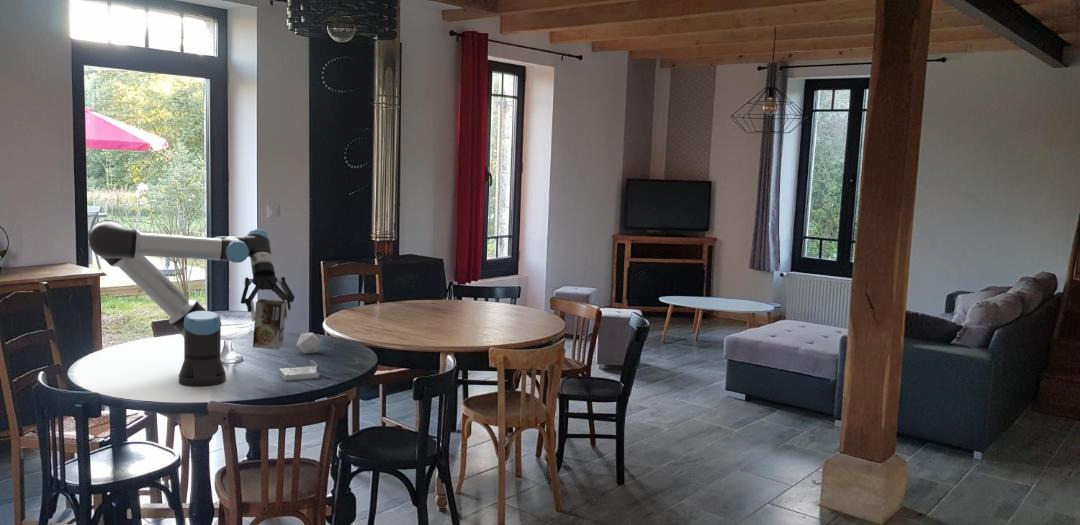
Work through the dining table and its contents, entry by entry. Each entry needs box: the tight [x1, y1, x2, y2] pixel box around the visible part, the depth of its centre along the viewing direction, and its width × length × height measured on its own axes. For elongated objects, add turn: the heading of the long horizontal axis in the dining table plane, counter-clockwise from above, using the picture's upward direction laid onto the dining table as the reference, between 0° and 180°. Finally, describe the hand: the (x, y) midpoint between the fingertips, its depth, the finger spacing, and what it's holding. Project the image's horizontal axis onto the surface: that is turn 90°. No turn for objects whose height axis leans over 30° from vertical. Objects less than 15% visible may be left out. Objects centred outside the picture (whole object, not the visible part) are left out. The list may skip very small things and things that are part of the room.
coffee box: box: [252, 298, 286, 351], centre depth 292 cm, size 9×6×16 cm
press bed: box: [278, 359, 320, 382], centre depth 303 cm, size 12×10×4 cm
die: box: [296, 332, 321, 355], centre depth 340 cm, size 8×9×10 cm
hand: (270, 318), depth 291 cm, fingers closed on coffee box, 11 cm apart
